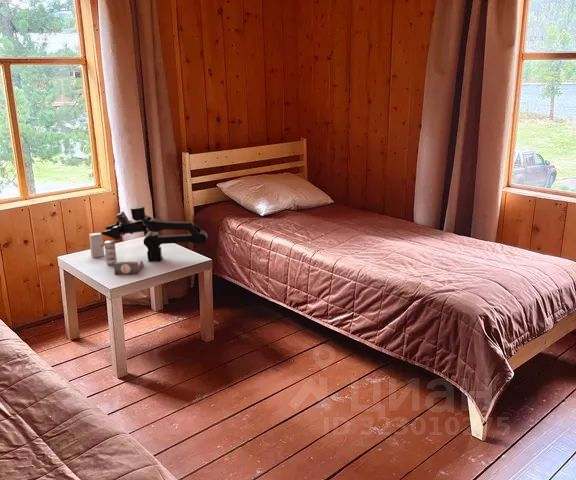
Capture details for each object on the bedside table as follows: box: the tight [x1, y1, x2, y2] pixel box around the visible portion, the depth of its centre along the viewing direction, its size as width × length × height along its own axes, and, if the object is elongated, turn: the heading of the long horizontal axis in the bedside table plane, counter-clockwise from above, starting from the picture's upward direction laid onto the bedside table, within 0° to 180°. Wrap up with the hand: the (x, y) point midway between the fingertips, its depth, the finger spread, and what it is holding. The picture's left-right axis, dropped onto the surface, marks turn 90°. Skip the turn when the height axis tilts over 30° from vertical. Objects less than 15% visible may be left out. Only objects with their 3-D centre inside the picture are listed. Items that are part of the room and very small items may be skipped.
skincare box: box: [88, 232, 105, 258], centre depth 295 cm, size 6×4×12 cm
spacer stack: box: [103, 239, 118, 267], centre depth 282 cm, size 5×5×12 cm
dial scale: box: [113, 259, 144, 276], centre depth 274 cm, size 11×14×6 cm
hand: (103, 230), depth 283 cm, fingers open, 9 cm apart
